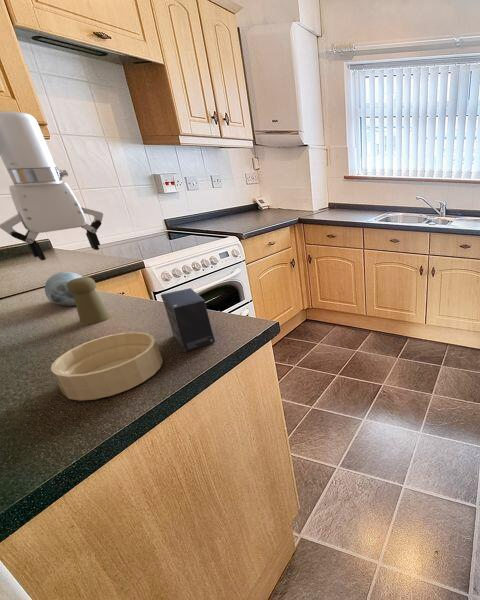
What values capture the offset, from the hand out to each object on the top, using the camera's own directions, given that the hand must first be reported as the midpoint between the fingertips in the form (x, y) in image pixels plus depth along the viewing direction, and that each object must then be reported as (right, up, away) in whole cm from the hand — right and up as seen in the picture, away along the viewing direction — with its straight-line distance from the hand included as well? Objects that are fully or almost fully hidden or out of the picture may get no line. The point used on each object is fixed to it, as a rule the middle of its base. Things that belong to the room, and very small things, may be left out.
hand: (70, 253), depth 79 cm
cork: (0, -16, +7) cm, 17 cm away
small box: (+31, -20, -3) cm, 37 cm away
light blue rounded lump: (-16, -11, +17) cm, 26 cm away
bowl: (+24, -25, -15) cm, 38 cm away
